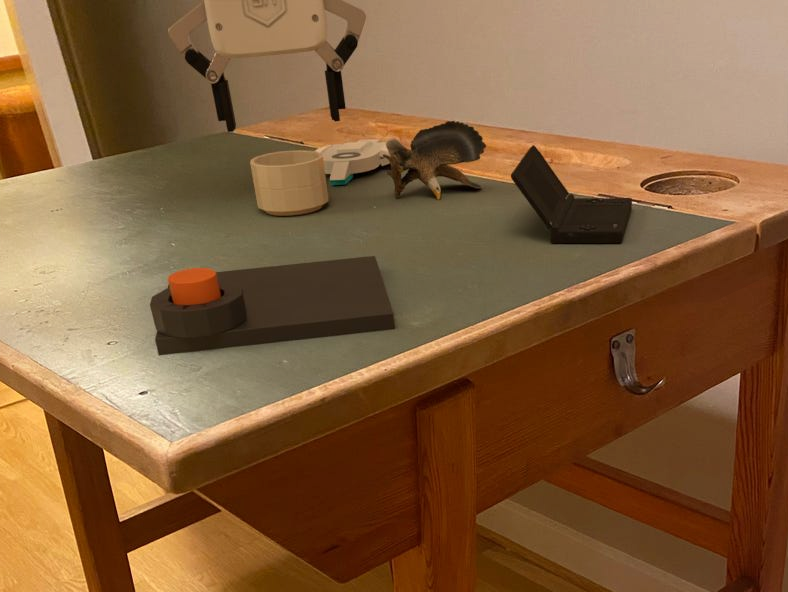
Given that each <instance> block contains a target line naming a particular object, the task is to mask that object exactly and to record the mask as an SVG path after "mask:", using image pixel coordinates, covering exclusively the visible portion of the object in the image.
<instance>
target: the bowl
mask: <svg viewBox="0 0 788 592" xmlns="http://www.w3.org/2000/svg"><path fill="white" fill-rule="evenodd" d="M249 161H250V162H249V163H250V169H251V177H252V181H253V186H254V193H255V198H256V203H257V208H258V209H260V210H262V211H265V213H266V214H268V215H272V216H280V217H291V216H300V215H306V214H310V213H313V212H317V211H319V210H320V209H322V208H323V207H324V205H325V204H326V203H328V202H329V193H328V185H327V179H326V174H325V170H324V162H323V156H322V153H319V152H316V150H305V149H304V150H299V149H298V150H283V151H275V152H270V153H264V154H261V155H258V156H255V157H253V158H251V160H249Z"/></svg>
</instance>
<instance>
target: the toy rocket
mask: <svg viewBox="0 0 788 592" xmlns="http://www.w3.org/2000/svg"><path fill="white" fill-rule="evenodd" d="M386 143H387V141H382V139H381V138H373V139H359V140H358V139H357V140H356V141H350V142H349V141H347V142H344V143H333V144H332V143H330V144H327V145H324V146H322V147H318V148H316V149H315V151H316V152H319V153H322V156H323V162H324V170H325V175H330V176H329V181H330V186H334V185H335V186H337V185H347V184H348V183H349V182H350V181H351V180H353V178H354V174H359V173H360V174H361V173H365V172H369V171H372V170H375V169H377V168H378V167H380V166H381V167H384V166H386V165H389V164H390V162H389V160H388V159H387V158H385V157H383V154H385V155H388V156H390V157H391V155H390V154H389V152H388V149H387V147H386Z"/></svg>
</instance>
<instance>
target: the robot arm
mask: <svg viewBox="0 0 788 592" xmlns="http://www.w3.org/2000/svg"><path fill="white" fill-rule="evenodd" d="M326 11H327V12H329V13H331V14H334V15H335V16H338V17H340V18H342V19H344V20H345V21H346V23H347V27H346V29H345V33H344V35H343V37H342V39H341V40H340V41H339V43H338V45H337V46H336V47H335V48H334V47H333V46H332V45H331V44H330V42H329V41H328V40H327V39H328V24H327V16H326ZM366 19H367V16H366V13H365V11H364V10H363V9H361V8H359V7H357V6H356V5H354V4H351V3H350V2H347V1H345V0H203V1H202V2H200V3H199V4H198V5H197V6H195V7H194V8H193V9H191V10H190V11H189V12H187V13H186V14H184V15H183V16H182V17H181V18H179V19H178V20H177V21H176V22H174V23H173V24H172V25H171V26H170V27H169V28H168V30H167V33H168V34H167V35H168V36H169V38H170V39H171V41H172V43H173V44H174V46H175V47H176V48H177V50H178V51H179V53H180V54H181V55H182V56H183V59H184V60H185V62H186V63H187V64H188V65H189V66H190V67H191V68H193V69H194V70H195V71H196V72H198V73H199V75H201V76H202V77H203V78H205V79H206V80H207V82H208V83H210V85H211V92H212V96H213V101H214V106H215V111H216V112H215V113H216V117H217V121H218V122H225V125H226V131H227V133H233V132H234V131H236V128H237V122H236V117H235V111H234V106H233V102H232V95H231V90H230V85H229V80H228V79H226V77H225V73H224V72H225V69H226V68H227V66H228V64H229V62H230V60H231V59H245V58H258V57H267V56H278V55H287V54H288V55H289V54H299V53H307V52H313V51H314V52H315V53H316V54H317V55H318V56H319V57H320V59H322V60H323V62H325V65H326V68H325V69H326V70H324V77H325V84H326V91H327V99H328V107H329V113H330V118H331V120H332V121H334V122H340V121H341V118H340V111H339V110H346V100H345V91H344V84H343V76H342V70H343V69H344V67H345V65H346V64H347V62H348V60H349V59H350V58H351V56H352V55H353V54H354V52H355V51H356V49H357V48H358V44H359V41H360V38H361V34H362V32H363V29H364V25H365V22H366ZM205 22H207V27H208V33H209V37H210V40H211V44H212V47H213V49H214V50H215V51H214V54H213V56H212V58H211V60H210V59H209V58H208V57H206V56H205V55H204V54H203V53H201V52H200V51H199V50H198V49H197V48H196V46H195V45H194V44H193V41H192V40H191V38H190V34H191V33H193V32H194V31H195V30H196V29H197V28H199V27H200V26H202V25H203V24H204V23H205Z"/></svg>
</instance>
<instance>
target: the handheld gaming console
mask: <svg viewBox="0 0 788 592" xmlns="http://www.w3.org/2000/svg"><path fill="white" fill-rule="evenodd" d="M510 178H511V180H512V181H513V183H514V184H515V185H516V186H515V187H517V188H518V190H519V191H520V193H521V194H522V195H523V197H524V198H525V200H526V201H527V202H528V203H529V205H530V206H531V207H532V209H533V210H534V211H535V212H536V215H537V216H538V217H539V218H540V220H541V221H542V223H543V224H544V225H545V227H546V228H547V229H548V230H550V239H549V240H550V241H549V242H550V243H551V244H622V242H623V241H624V236H625V233H626V230H627V226H628V223H629V221H630V220H629V219H630V216H631V212H632V210H633V209H632V208H633V198H632V197H588V198H587V197H586V198H585V197H584V198H583V197H582V198H579V197H577V198H575V196H574V194H573V193H569V191H568V190H567V188H566V187H565V185H564V184H563V183H562V182H561V180H560V178H559V177H558V175H557V174H556V173H555V171H554V170H553V169H552V167H551V166H550V164H549V163H548V162H547V160H546V159H545V157H544V156H543V153H541V151H539V149H538V148H537V146H535V145H534V144H533V145H531V146H530V147H529V149H528V150H527V151H526V153H525V154H524V155H523V157H522V159H520V161H519V163H518V164H517V165H516V166H515V168H514V169H513V171H512V172H511V174H510Z"/></svg>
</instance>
